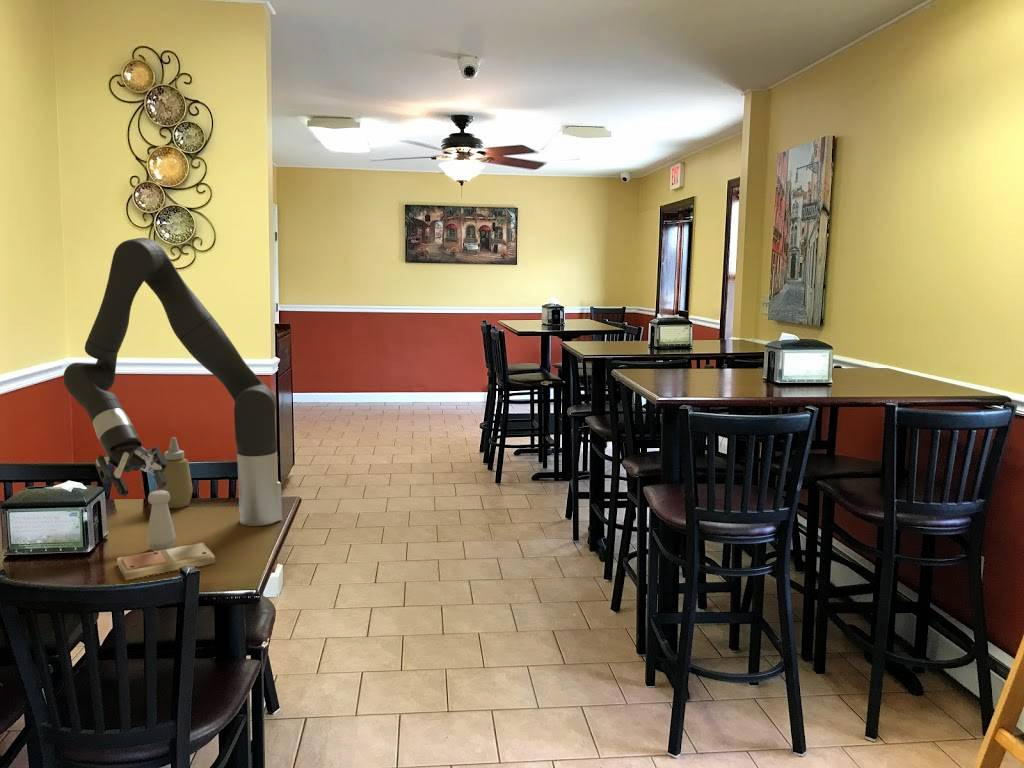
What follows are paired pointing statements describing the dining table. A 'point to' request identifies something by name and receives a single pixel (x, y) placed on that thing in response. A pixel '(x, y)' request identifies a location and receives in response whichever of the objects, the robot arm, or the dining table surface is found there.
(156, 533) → the salt shaker
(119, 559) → the tile board
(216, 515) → the dining table surface
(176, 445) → the squeeze bottle
